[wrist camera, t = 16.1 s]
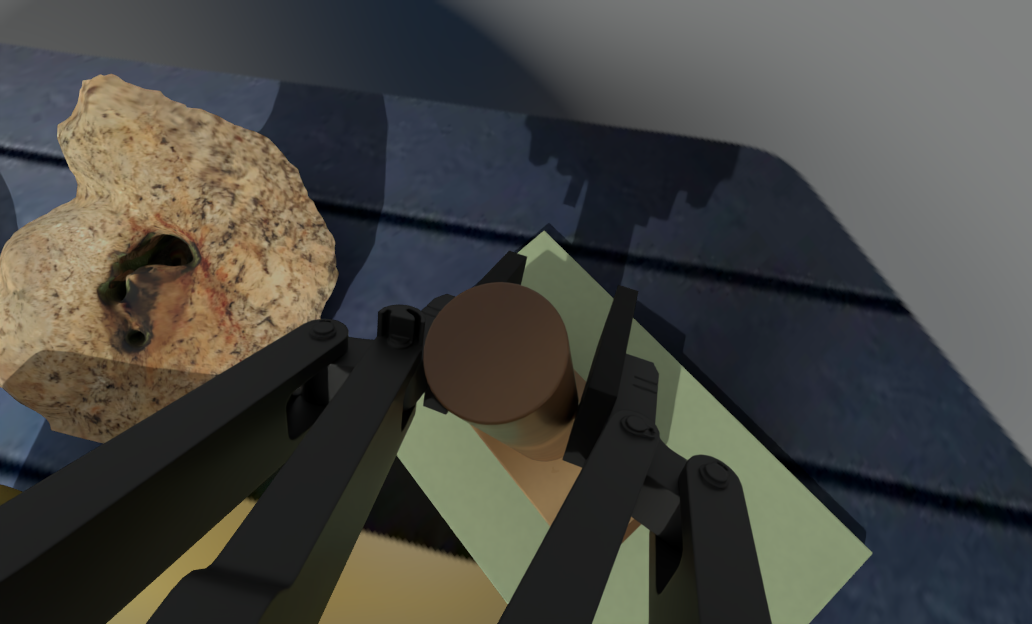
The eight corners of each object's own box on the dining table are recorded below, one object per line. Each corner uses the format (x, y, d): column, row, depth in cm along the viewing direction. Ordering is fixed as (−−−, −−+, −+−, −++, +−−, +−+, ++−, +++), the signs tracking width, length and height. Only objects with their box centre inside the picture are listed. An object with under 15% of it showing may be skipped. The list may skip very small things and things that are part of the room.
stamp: (665, 479, 21) (772, 452, 8) (585, 557, 20) (566, 659, 8) (524, 330, 25) (448, 152, 12) (452, 392, 24) (292, 273, 11)
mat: (864, 550, 21) (874, 553, 21) (648, 787, 19) (651, 799, 19) (544, 234, 27) (544, 229, 26) (354, 394, 25) (349, 392, 25)
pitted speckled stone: (313, 437, 31) (255, 500, 23) (94, 375, 30) (-44, 420, 22) (388, 177, 29) (350, 154, 21) (154, 97, 28) (23, 42, 20)
